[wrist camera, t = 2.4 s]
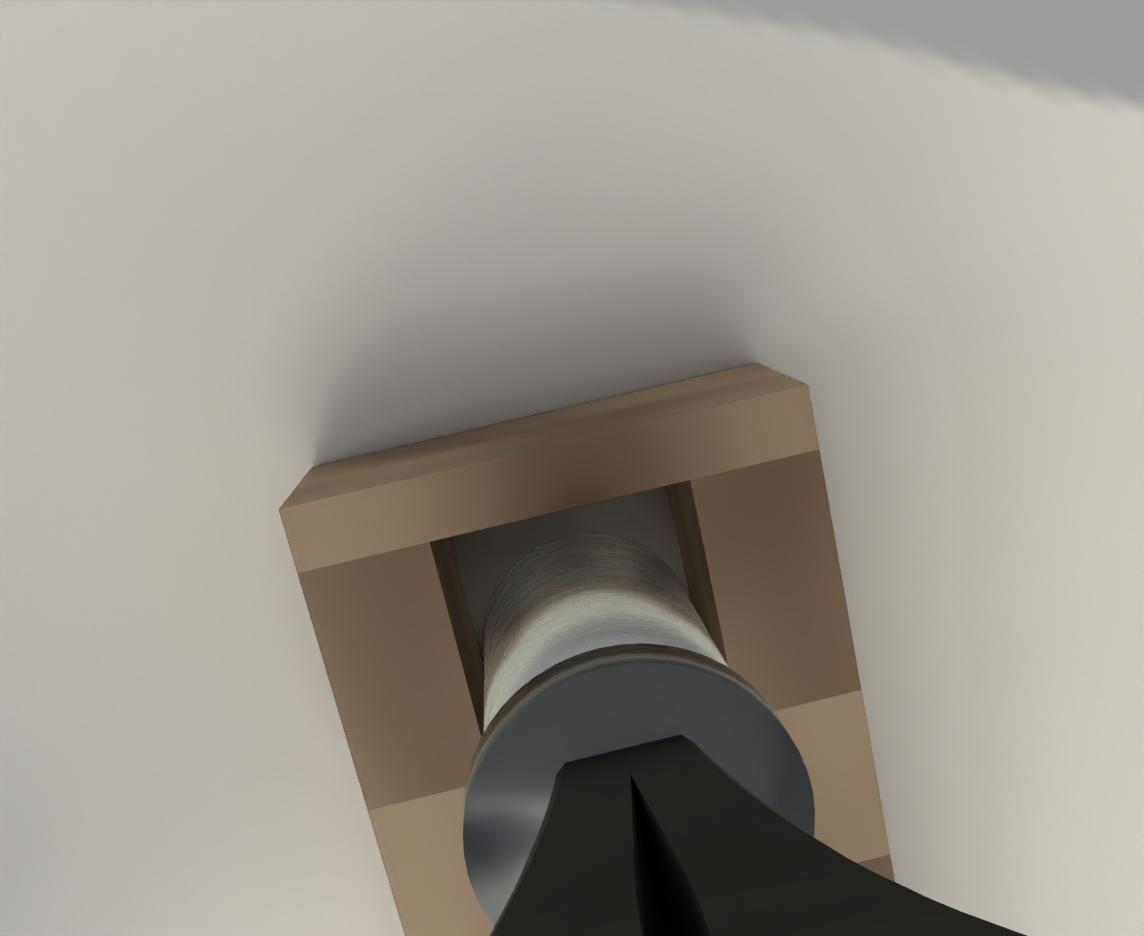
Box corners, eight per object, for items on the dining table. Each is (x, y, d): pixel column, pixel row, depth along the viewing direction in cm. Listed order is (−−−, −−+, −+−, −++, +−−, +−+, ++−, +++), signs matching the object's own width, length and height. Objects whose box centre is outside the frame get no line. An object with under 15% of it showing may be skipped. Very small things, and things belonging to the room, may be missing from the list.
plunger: (501, 766, 16) (508, 1024, 11) (445, 551, 16) (423, 715, 10) (724, 711, 17) (840, 941, 11) (679, 495, 16) (781, 627, 10)
